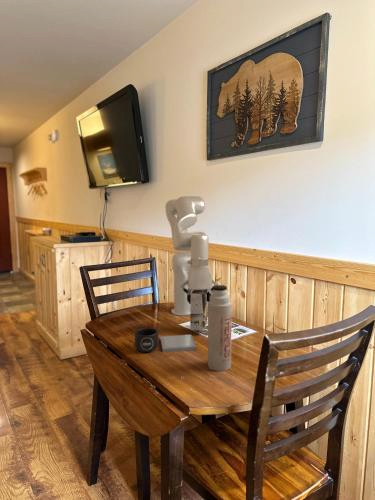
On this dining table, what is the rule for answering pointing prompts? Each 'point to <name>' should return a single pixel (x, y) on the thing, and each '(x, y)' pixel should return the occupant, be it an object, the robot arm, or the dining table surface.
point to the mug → (146, 339)
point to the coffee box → (198, 310)
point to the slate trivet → (177, 343)
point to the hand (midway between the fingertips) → (199, 302)
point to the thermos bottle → (219, 329)
